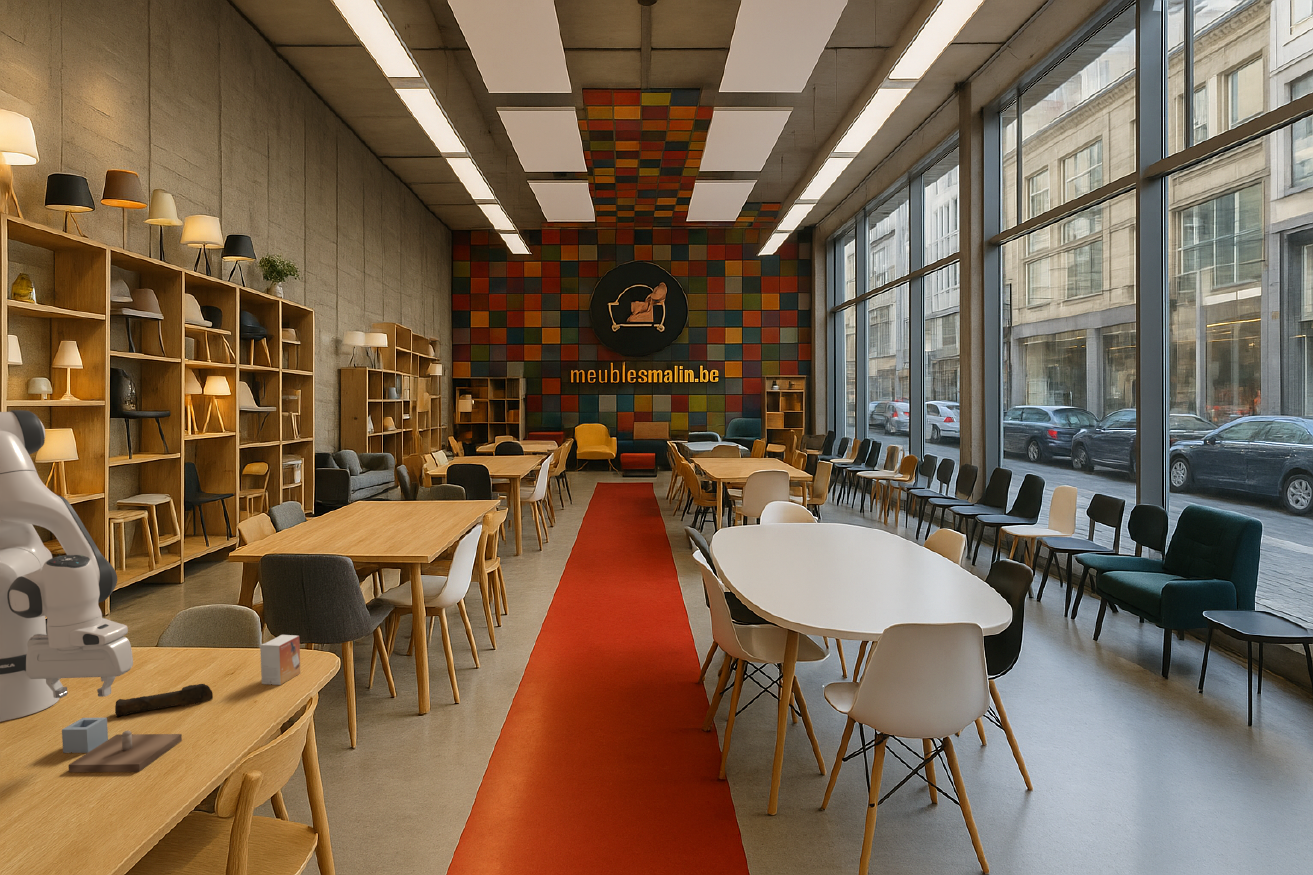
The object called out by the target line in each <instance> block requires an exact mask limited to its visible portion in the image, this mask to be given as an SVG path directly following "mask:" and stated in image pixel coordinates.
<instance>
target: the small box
mask: <svg viewBox="0 0 1313 875" xmlns="http://www.w3.org/2000/svg"><path fill="white" fill-rule="evenodd" d="M300 643H301V642H300V635H293V634H291V635H290V634H280V635H279V636H277V637H274V638H273V639H271V640H269V641H267V642H264V643H262V644H260V646H259V647H260V670H261V684H262V685H271V684H272V686H273V685H274V686H281V685H282V684H284V683H286V682H288V681H290V680H292V679H293V678H295V677H297V676H298V675H301V648H300V646H301V645H300Z"/></svg>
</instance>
